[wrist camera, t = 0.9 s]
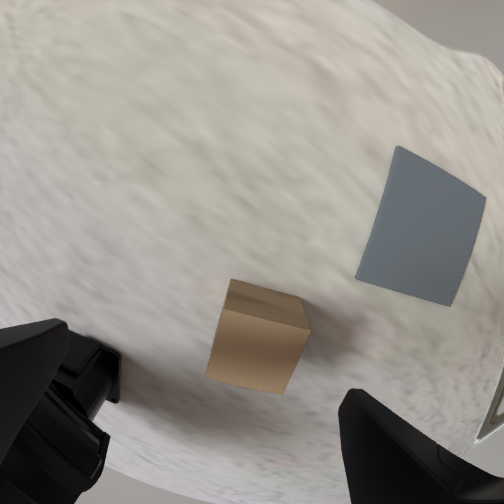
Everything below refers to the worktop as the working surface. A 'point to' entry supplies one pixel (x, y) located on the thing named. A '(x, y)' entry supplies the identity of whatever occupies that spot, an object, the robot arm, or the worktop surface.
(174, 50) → the worktop surface
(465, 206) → the slate pad
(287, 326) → the walnut cube
